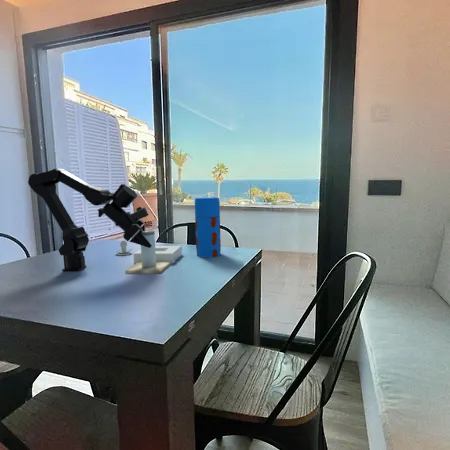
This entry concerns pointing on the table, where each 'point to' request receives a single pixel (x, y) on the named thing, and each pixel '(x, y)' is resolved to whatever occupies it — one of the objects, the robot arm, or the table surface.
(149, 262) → the cylinder
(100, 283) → the table surface
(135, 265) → the pad
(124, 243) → the pacifier
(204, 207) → the thermos
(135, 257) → the housing
